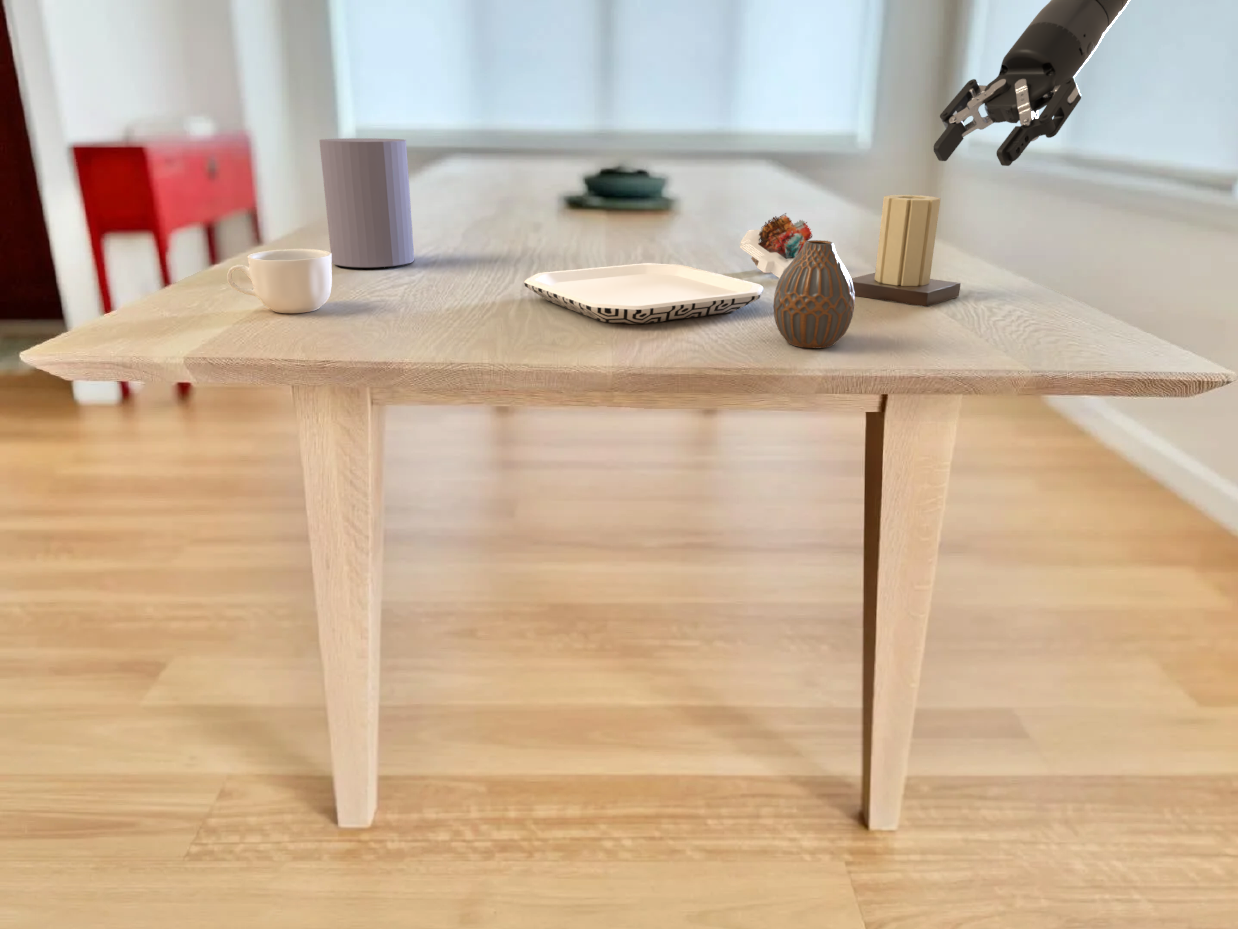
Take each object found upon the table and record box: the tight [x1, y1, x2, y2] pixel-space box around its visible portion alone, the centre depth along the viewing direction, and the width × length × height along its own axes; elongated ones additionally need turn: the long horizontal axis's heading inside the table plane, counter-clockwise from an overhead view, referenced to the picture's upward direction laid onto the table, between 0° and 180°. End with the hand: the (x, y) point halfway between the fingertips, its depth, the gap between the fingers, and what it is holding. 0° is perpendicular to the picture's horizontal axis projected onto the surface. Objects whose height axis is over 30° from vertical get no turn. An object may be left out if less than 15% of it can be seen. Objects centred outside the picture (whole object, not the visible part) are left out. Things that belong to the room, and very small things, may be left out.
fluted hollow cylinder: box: [874, 194, 941, 286], centre depth 101 cm, size 6×6×9 cm
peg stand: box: [851, 272, 961, 308], centre depth 101 cm, size 10×8×8 cm
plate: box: [523, 262, 765, 325], centre depth 97 cm, size 21×21×2 cm
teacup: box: [226, 248, 333, 314], centre depth 92 cm, size 10×8×5 cm
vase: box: [773, 239, 856, 349], centre depth 80 cm, size 7×7×9 cm
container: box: [319, 137, 415, 270], centre depth 116 cm, size 10×10×15 cm
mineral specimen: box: [739, 212, 813, 280], centre depth 116 cm, size 12×12×7 cm
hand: (969, 157), depth 101 cm, fingers open, 8 cm apart
